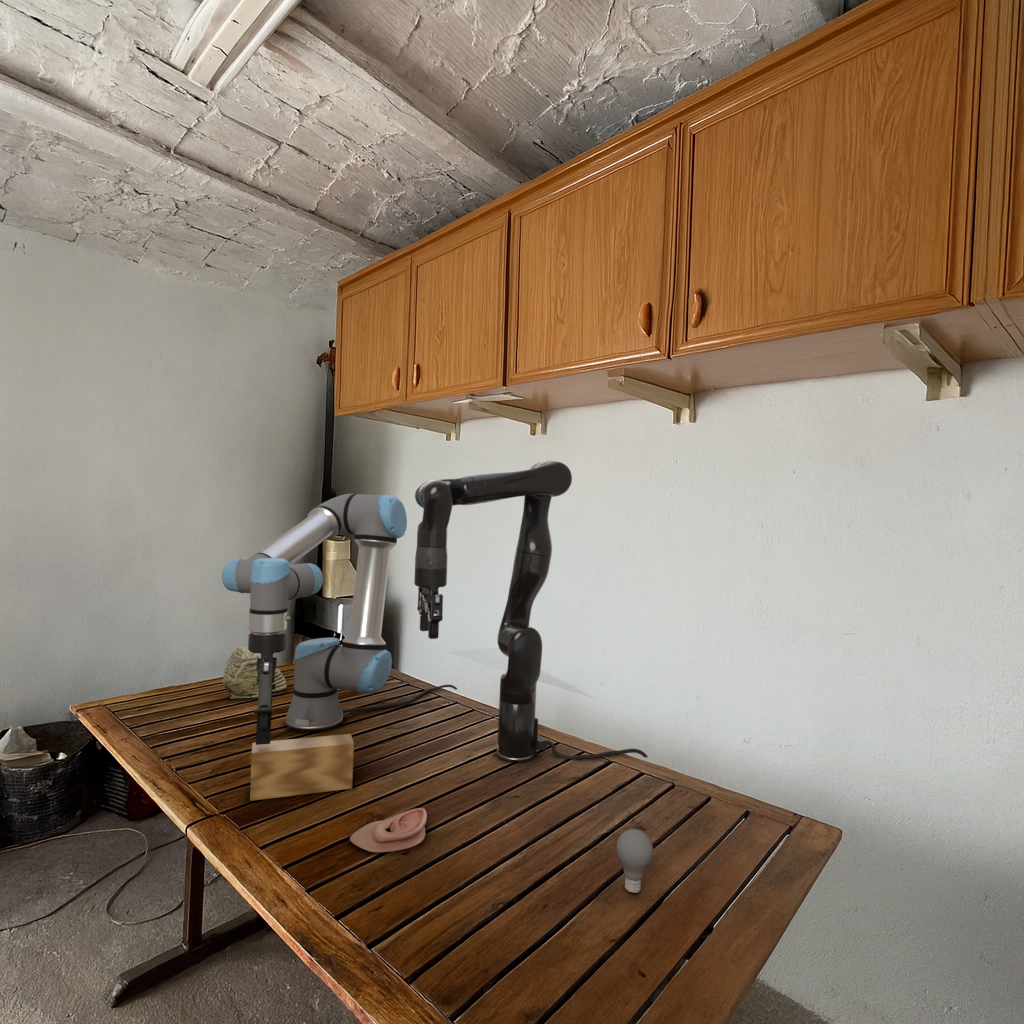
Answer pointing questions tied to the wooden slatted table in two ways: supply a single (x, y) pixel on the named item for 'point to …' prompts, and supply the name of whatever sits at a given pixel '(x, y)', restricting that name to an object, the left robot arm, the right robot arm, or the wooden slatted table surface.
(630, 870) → the light bulb
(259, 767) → the box
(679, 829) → the wooden slatted table surface
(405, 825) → the anatomical model
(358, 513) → the left robot arm
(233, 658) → the fossil
